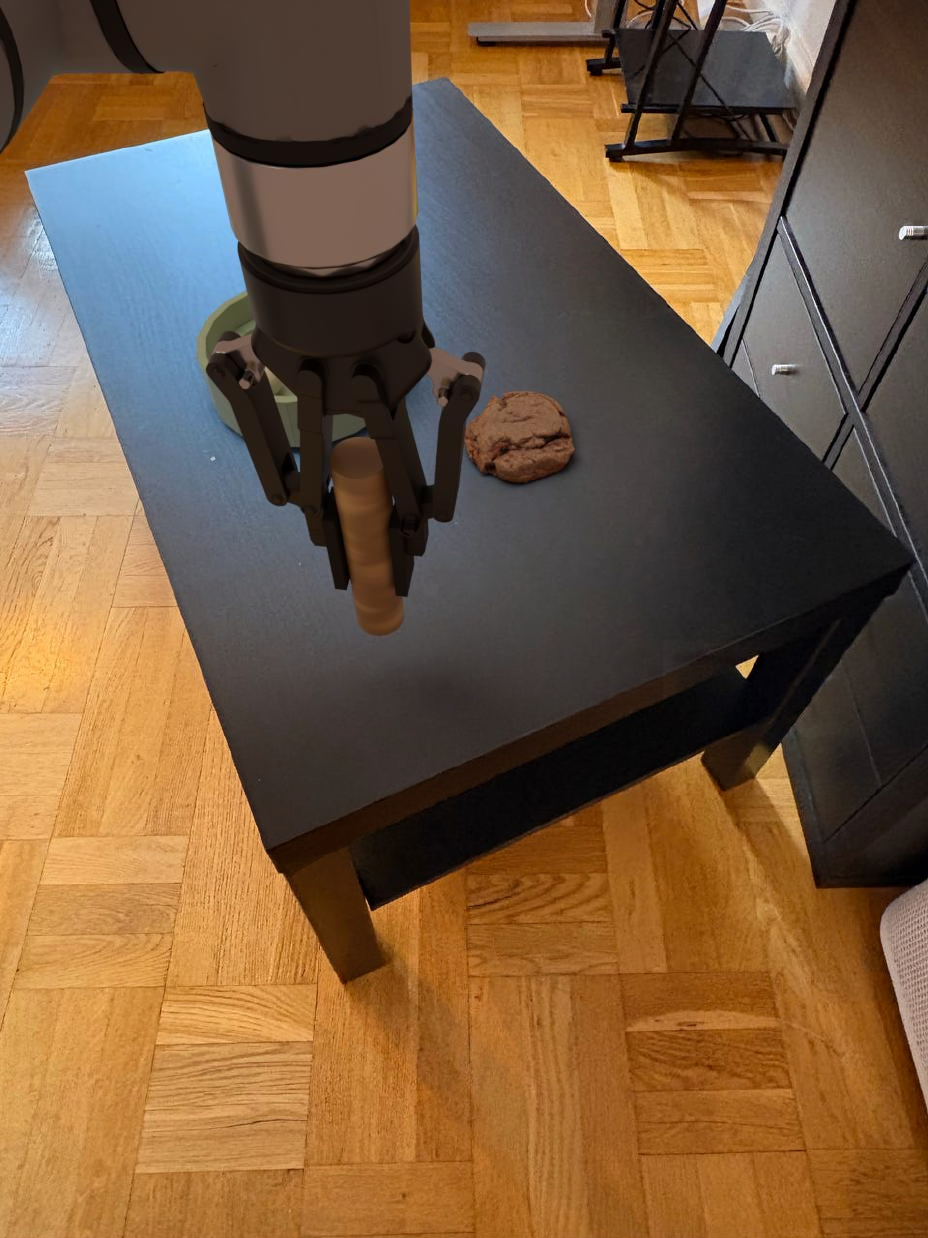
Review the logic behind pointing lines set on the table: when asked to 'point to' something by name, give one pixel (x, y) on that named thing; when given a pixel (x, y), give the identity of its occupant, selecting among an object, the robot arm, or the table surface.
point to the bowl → (241, 321)
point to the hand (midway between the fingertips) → (375, 575)
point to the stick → (366, 533)
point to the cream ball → (273, 381)
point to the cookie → (520, 437)
